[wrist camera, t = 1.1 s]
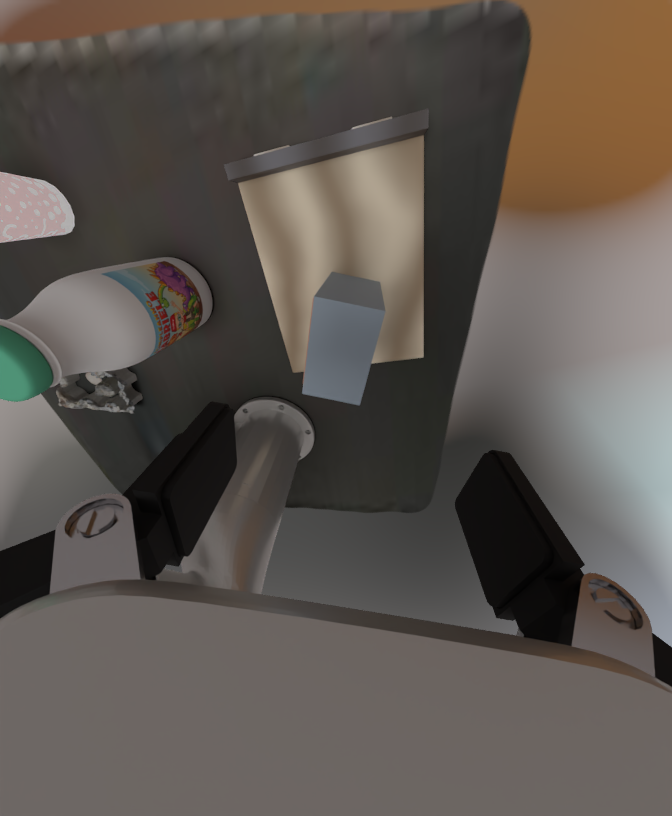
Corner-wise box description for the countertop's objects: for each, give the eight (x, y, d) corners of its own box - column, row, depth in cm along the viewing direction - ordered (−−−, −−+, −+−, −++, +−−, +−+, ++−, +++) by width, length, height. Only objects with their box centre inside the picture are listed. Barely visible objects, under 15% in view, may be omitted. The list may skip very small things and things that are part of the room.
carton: (362, 353, 32) (359, 405, 23) (319, 345, 32) (299, 393, 23) (380, 281, 28) (385, 311, 19) (329, 271, 28) (311, 295, 19)
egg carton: (78, 391, 42) (53, 406, 39) (61, 346, 38) (31, 359, 35) (147, 407, 43) (128, 423, 39) (137, 365, 38) (115, 379, 35)
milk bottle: (164, 326, 34) (-23, 421, 18) (137, 256, 30) (-141, 299, 14) (222, 326, 34) (83, 427, 17) (203, 255, 29) (-6, 299, 13)
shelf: (295, 367, 36) (289, 380, 33) (239, 168, 25) (222, 161, 22) (421, 352, 33) (426, 364, 30) (420, 119, 22) (428, 104, 19)
